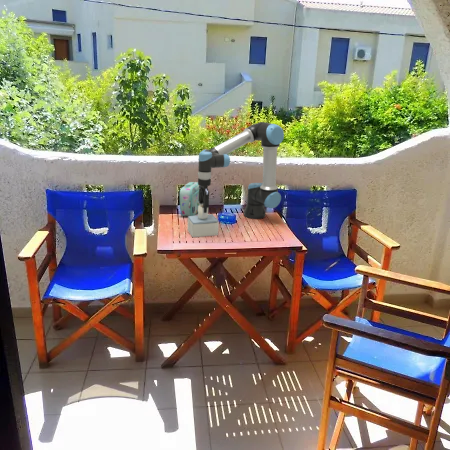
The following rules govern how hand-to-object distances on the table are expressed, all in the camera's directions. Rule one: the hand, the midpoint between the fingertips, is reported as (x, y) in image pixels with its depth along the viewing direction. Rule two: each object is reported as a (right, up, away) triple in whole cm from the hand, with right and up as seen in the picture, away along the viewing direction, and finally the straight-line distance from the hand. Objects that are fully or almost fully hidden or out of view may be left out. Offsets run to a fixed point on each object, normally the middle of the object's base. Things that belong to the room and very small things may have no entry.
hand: (203, 215), depth 253 cm
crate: (-1, -10, +4) cm, 11 cm away
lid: (0, -3, +1) cm, 3 cm away
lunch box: (-10, +3, +38) cm, 40 cm away
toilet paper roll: (0, -1, 0) cm, 1 cm away
